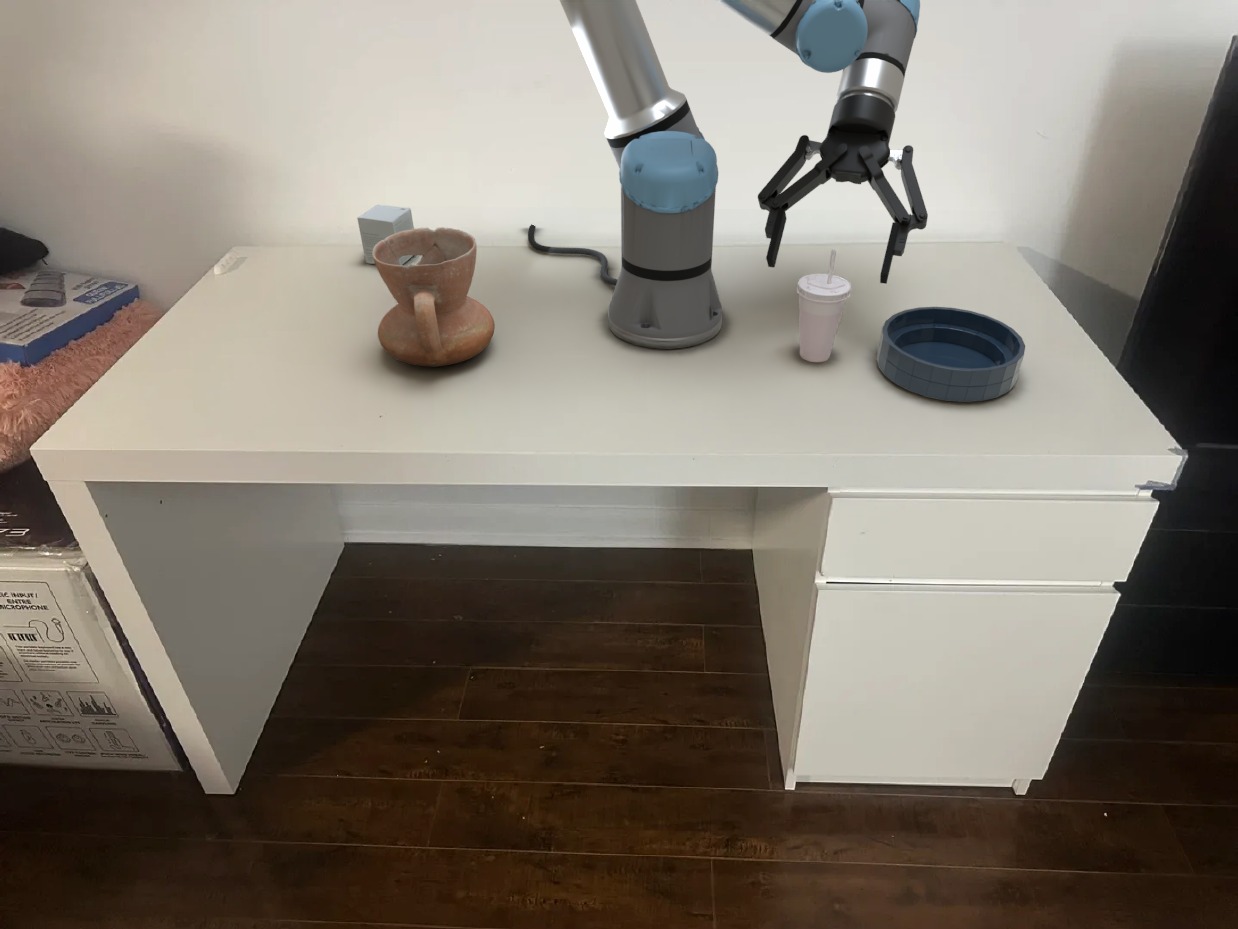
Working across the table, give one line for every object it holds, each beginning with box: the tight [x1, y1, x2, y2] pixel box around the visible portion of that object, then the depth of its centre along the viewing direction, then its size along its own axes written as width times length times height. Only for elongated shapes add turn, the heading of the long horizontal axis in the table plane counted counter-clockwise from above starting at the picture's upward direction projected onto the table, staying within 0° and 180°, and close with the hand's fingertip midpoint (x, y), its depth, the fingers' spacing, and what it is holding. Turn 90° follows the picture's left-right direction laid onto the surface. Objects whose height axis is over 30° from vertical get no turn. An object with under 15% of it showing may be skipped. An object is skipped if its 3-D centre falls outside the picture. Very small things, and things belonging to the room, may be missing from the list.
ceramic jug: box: [372, 227, 495, 368], centre depth 107 cm, size 18×14×14 cm
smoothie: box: [796, 248, 852, 363], centre depth 106 cm, size 6×6×14 cm
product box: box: [357, 204, 415, 266], centre depth 134 cm, size 6×6×7 cm
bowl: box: [876, 306, 1026, 403], centre depth 105 cm, size 16×16×4 cm
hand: (825, 271), depth 105 cm, fingers open, 13 cm apart
